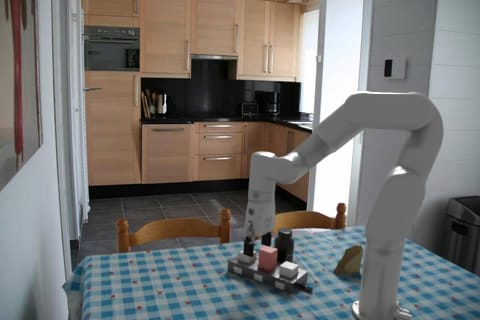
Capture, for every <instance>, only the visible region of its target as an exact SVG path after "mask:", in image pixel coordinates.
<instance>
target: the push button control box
mask: <svg viewBox="0 0 480 320" xmlns="http://www.w3.org/2000/svg"><path fill="white" fill-rule="evenodd" d="M238 257H239V254H238V255H237V254H236V256H233V257H232V258H230V259H228V261H227V272H229V273H232V274H235V275H238V276H241V277H243V278H244V279H245V278H246V279H248V280H250V281H251V280H252V282H253V281H254V282H257V283H259V284H262V285H264V286H266V287H270V288H272V289H275V290H278V291H281V292H283V293H286V294H289V295H293V294H294V293H296V292H297V291H298V290H299V289H301V290H305V291H307V292H310V293H312V292H313V291H314V288H313V287H310V286H308V285H306V283H308V276H309V274H308V273H309V271H308V270H304V269H303V268H300V267H298V274H297V275H296V276H295V277H294V278H289V277H286V276H283V275H280V274H279V271H280V265H281V264H283V263H281V262H278V261H277V265H276V267H275V268H274V269H272V270H271V271H269V270H266V269H263V268H260V267H258V262H259V254H258V253H257V254H256V260H255V261H253V262H252V263H250V264H248V263H246V262H243V261H240V260H238Z"/></svg>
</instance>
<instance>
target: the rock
mask: <svg viewBox="0 0 480 320" xmlns="http://www.w3.org/2000/svg"><path fill="white" fill-rule="evenodd" d="M363 257H364V249H363V247H362V245H358V244H357V245H353V246H350V247H348V248H346V249H345V251H344V253H343V255H342V257H341V259H340V260H339V261H338V262H337V264H336V267H335V268H334V269H333V271H332V272H333V274H335V276H342V275H346V274H355V273H360V272H361V268H362V267H361V264H362V263H361V262H362V259H363Z"/></svg>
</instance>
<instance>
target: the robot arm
mask: <svg viewBox="0 0 480 320" xmlns="http://www.w3.org/2000/svg"><path fill="white" fill-rule="evenodd" d="M442 118H443V117H442V115H441V113H440V111H439V109H438V107H437V106H436V104H434V102H433V101H432V100H431V99H430V98H429V97H428V96H427V95H425V94H424V93H422V92H419V91H418V92H417V91H410V92H408V93H407V92H373V91H369V90H360V91H355V92H354V93H352V94H350V95H349V96H347V98H346V100H345V101H344V103H342V104H341V105H340V106H339V107H338V108H337V109H335V110H334V111H333V112H332V113H331V114H330V115H328V116H327V117H326V118H324V119H323V120H322V121H321V122H319V123H318V125H316V126H315V128H314V130H313V132H312V133H311V134H310V135H309V136H308V137H307V138H306V139H305V140H304V141H303V142H302V143H300V144H299V145H298V146H296V148H294V149H293V150H292V151H291V152H289V153H287V154H286V155H284V156H277V155H276V154H275V153H273V152H270V151H256V152H253V153H252V154H251V157H250V165H249V167H250V168H249V181H248V196H247V197H248V198H247V200H248V201H247V206H246V212H245V221H244V227H242V229H241V231H240V234H241V239H242V242H243V249H242V250H243V254H244V255H246V256H249V257H253V255H254V251H255V243H254V242H255V240H256V237H257V238H261V241H260V245H262V246H268V247H272V236H273V233H274V229H275V227H276V225H275V224H276V201H275V192H276V184H277V183H279V184H282V185H291V184H292V185H293V184H294V183H295V182H297V181H298V180H299V179H301V177H303V176H304V175H306V173H308V172H309V171H311V169H313V168H314V167H316V166H317V165H318V164H319V163H321V162H322V161H323V160H324V159H326V158H327V157H329V156H330V155H331V154H334V153H337V151H339V150H340V149H342V148H343V146H345V145H346V144H347V143H349V142H351V141H352V140H353V139H354V138H355V137H356V136H357V135H360V133H362V132H363V131H364V130H365V129H374V130H393V131H406V132H405V137H404V140H403V142H402V144H401V147H400V149H399V151H398V154H397V156H396V158H395V160H394V162H393V164H392V167H391V169H390V171H389V172H388V173H387V175H386V176H385V179H384V181H383V182H382V183H383V184H382V186H381V189H380V191H379V194H378V195H377V198H376V200H375V203H374V204H373V207H372V208H371V209H370V211H369V213H368V216H367V219H366V222H365V224H364V236H365V238H366V239H365V246H364V252H363V261H362V271H361V280H360V287H359V296H358V300H356V301H354V302H353V304H352V306H351V312H352V314H353V316H354V317H355V318H357V319H358V320H413V315H412V314H410V312H411V311H410V310H408V309H405V308H401V306H400V301H399V300H398V293H399V292H398V291H399V287H400V286H399V284H400V277H401V271H402V266H403V265H402V264H403V257H404V249H405V242H406V238H407V236H408V235H409V233H410V230H411V228H412V226H413V224H414V222H415V220H416V218H417V217H418V214H419V212H420V210H421V207H422V206H423V203H424V200H425V197H426V189H427V188H426V186H427V180H428V178H429V175H430V174H431V172H432V169H433V167H434V164H435V162H436V159H437V157H438V155H439V152H440V151H441V147H442V145H443V141H444V140H443V139H444V133H445V131H444V122H443V119H442Z"/></svg>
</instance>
